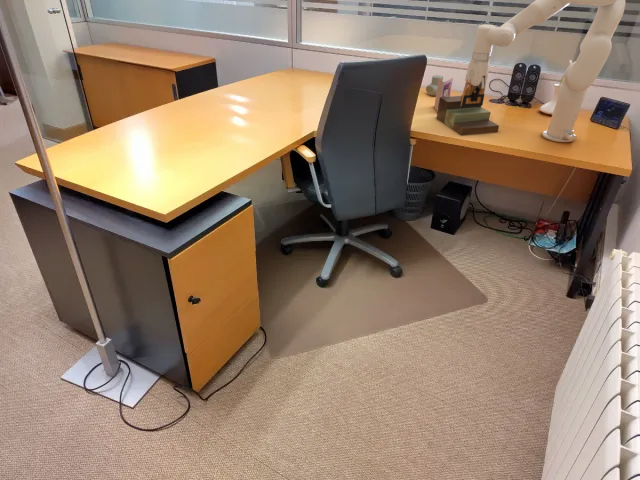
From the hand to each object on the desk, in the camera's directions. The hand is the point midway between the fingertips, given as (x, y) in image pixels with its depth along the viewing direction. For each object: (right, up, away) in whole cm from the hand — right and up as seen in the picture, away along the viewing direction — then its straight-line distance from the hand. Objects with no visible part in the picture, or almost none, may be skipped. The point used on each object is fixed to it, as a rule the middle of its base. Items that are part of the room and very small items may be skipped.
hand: (472, 99), depth 193 cm
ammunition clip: (0, -2, +2) cm, 3 cm away
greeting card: (-8, +3, +26) cm, 28 cm away
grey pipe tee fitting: (-4, +19, +49) cm, 52 cm away
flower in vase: (+49, +1, +23) cm, 54 cm away
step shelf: (0, -9, +7) cm, 12 cm away
